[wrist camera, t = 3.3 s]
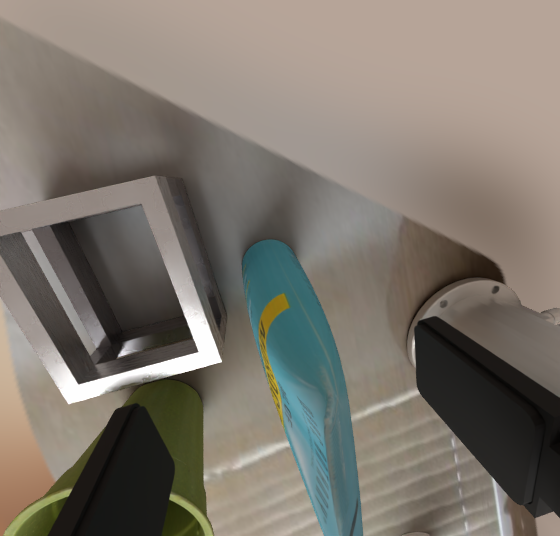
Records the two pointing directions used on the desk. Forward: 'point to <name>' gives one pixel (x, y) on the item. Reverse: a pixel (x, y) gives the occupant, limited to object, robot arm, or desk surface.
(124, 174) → the desk surface
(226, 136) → the desk surface
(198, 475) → the plant pot
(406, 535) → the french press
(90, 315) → the square metal frame
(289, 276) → the tube
